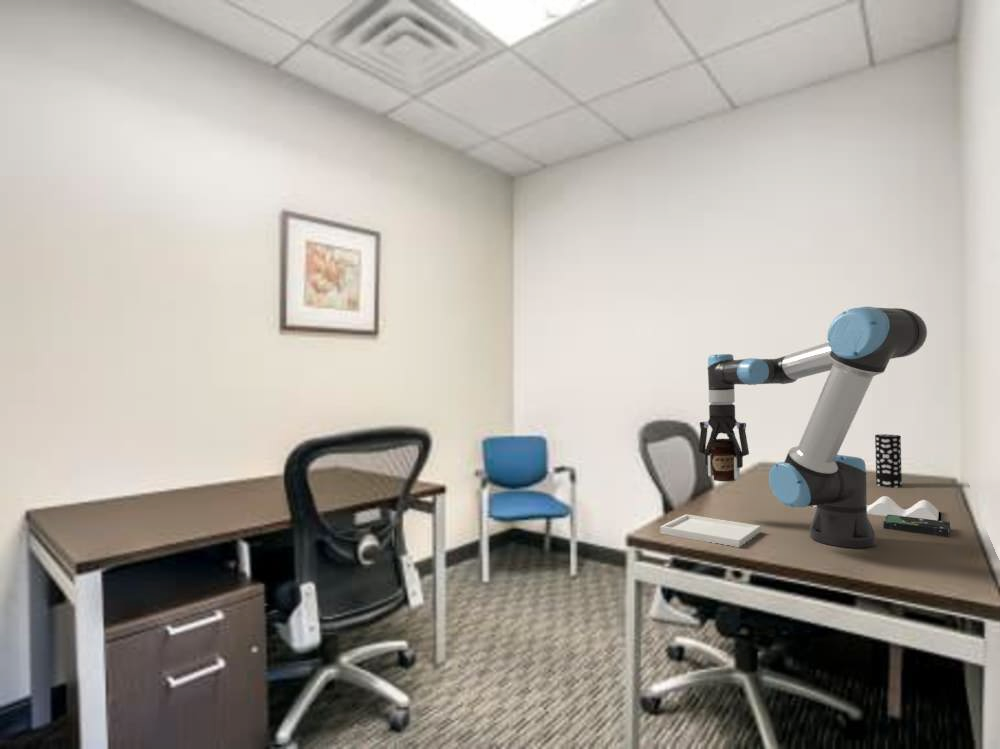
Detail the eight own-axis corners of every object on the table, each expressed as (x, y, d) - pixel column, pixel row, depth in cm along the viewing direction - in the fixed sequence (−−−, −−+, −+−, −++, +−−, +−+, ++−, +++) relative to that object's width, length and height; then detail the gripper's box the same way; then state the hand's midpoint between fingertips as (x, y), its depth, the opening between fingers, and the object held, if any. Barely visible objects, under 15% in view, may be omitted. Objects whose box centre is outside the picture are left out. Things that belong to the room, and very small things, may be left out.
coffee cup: (742, 483, 166) (740, 440, 166) (712, 483, 168) (711, 440, 168) (735, 478, 175) (734, 437, 175) (708, 478, 176) (707, 437, 177)
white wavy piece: (942, 524, 164) (942, 507, 164) (810, 508, 186) (809, 493, 186) (943, 515, 174) (942, 499, 174) (817, 501, 197) (817, 487, 197)
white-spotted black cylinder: (907, 487, 215) (905, 436, 215) (885, 487, 215) (884, 436, 215) (892, 483, 223) (890, 434, 223) (871, 483, 223) (870, 434, 223)
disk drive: (950, 531, 157) (887, 522, 167) (950, 521, 157) (887, 513, 167) (948, 539, 149) (882, 530, 159) (948, 529, 149) (882, 520, 159)
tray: (760, 532, 157) (760, 525, 157) (739, 548, 144) (739, 540, 144) (685, 520, 172) (685, 514, 172) (660, 533, 158) (659, 526, 158)
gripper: (759, 403, 168) (762, 478, 168) (694, 403, 181) (696, 472, 181) (751, 404, 162) (754, 482, 162) (685, 403, 176) (687, 475, 175)
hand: (723, 476), depth 171 cm, fingers closed on coffee cup, 7 cm apart
